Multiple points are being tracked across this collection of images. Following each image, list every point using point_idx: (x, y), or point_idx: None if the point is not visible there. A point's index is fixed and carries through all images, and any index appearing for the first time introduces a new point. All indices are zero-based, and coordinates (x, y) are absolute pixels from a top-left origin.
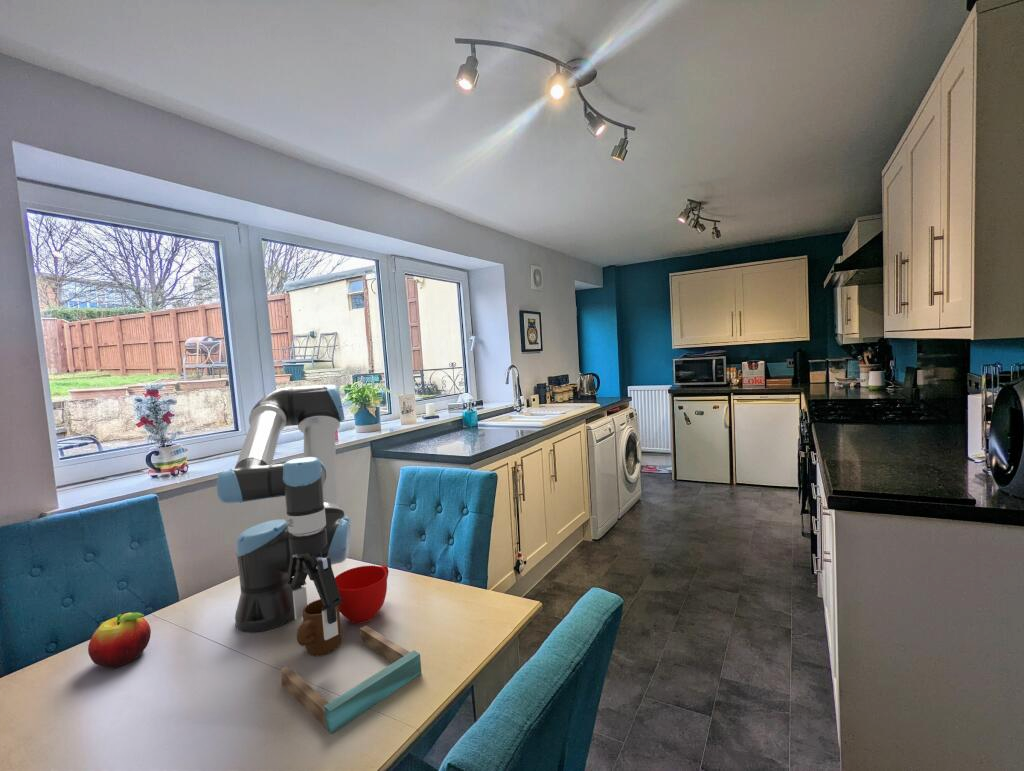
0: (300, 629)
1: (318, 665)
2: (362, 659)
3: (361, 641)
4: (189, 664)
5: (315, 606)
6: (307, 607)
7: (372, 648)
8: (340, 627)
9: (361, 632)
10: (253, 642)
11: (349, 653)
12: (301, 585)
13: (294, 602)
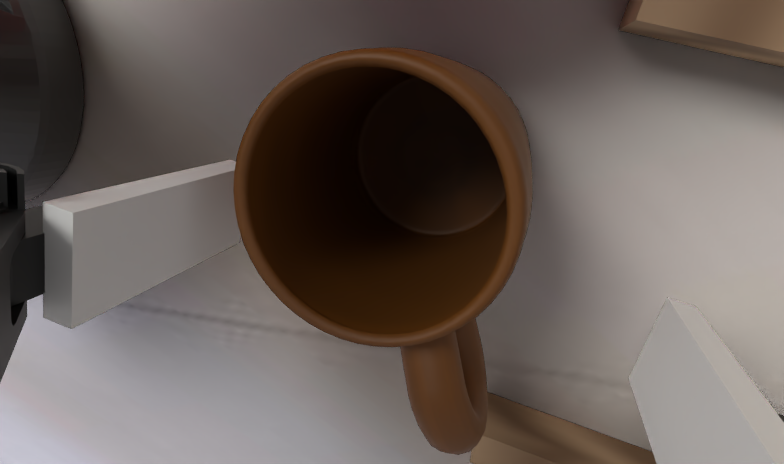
0: (457, 452)
1: (530, 280)
2: (756, 167)
3: (624, 31)
4: (64, 398)
5: (270, 154)
6: (258, 234)
7: (758, 60)
8: (510, 103)
9: (647, 26)
10: None
11: (628, 151)
12: (22, 231)
13: (148, 283)
